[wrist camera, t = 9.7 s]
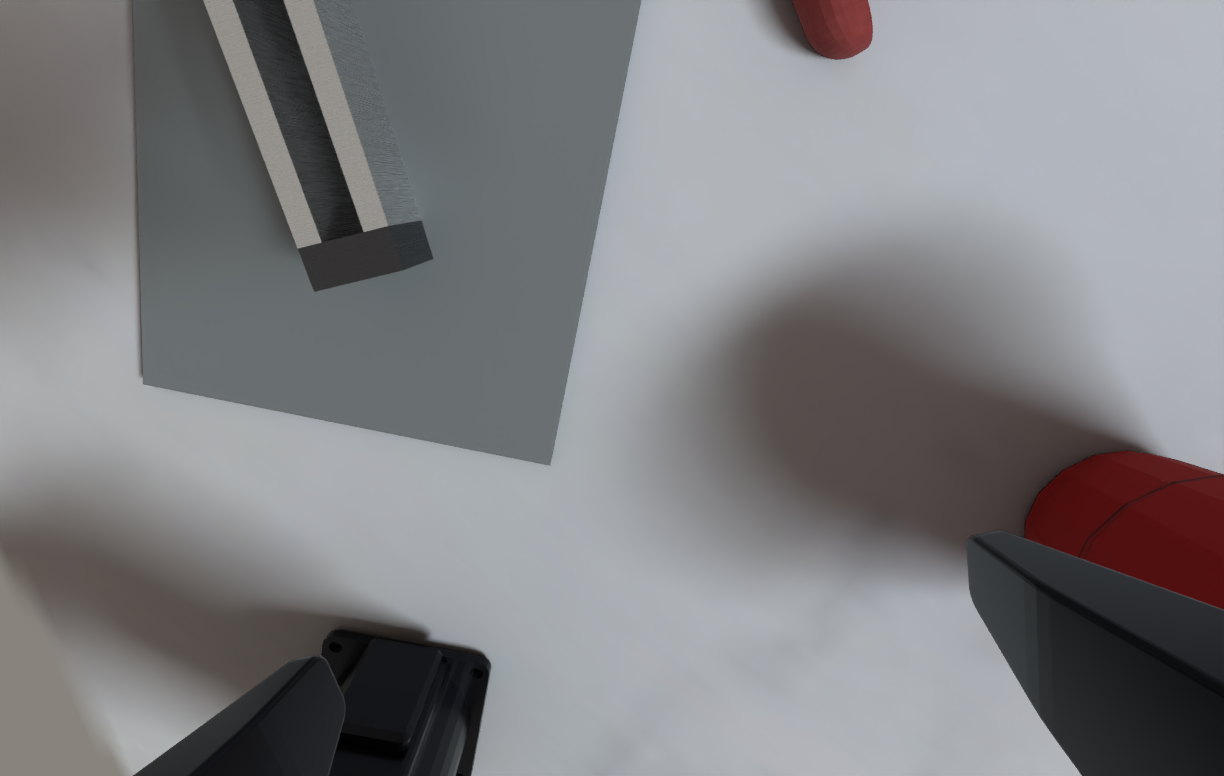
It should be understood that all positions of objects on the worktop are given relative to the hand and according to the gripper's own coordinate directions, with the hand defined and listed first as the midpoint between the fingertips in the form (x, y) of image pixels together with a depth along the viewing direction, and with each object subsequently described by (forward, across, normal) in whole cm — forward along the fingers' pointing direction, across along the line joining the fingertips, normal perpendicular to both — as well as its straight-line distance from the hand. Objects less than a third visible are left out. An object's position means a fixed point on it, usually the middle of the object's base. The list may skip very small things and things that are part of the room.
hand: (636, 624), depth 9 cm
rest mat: (+13, +6, -8) cm, 17 cm away
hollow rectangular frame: (+11, +7, -5) cm, 14 cm away
